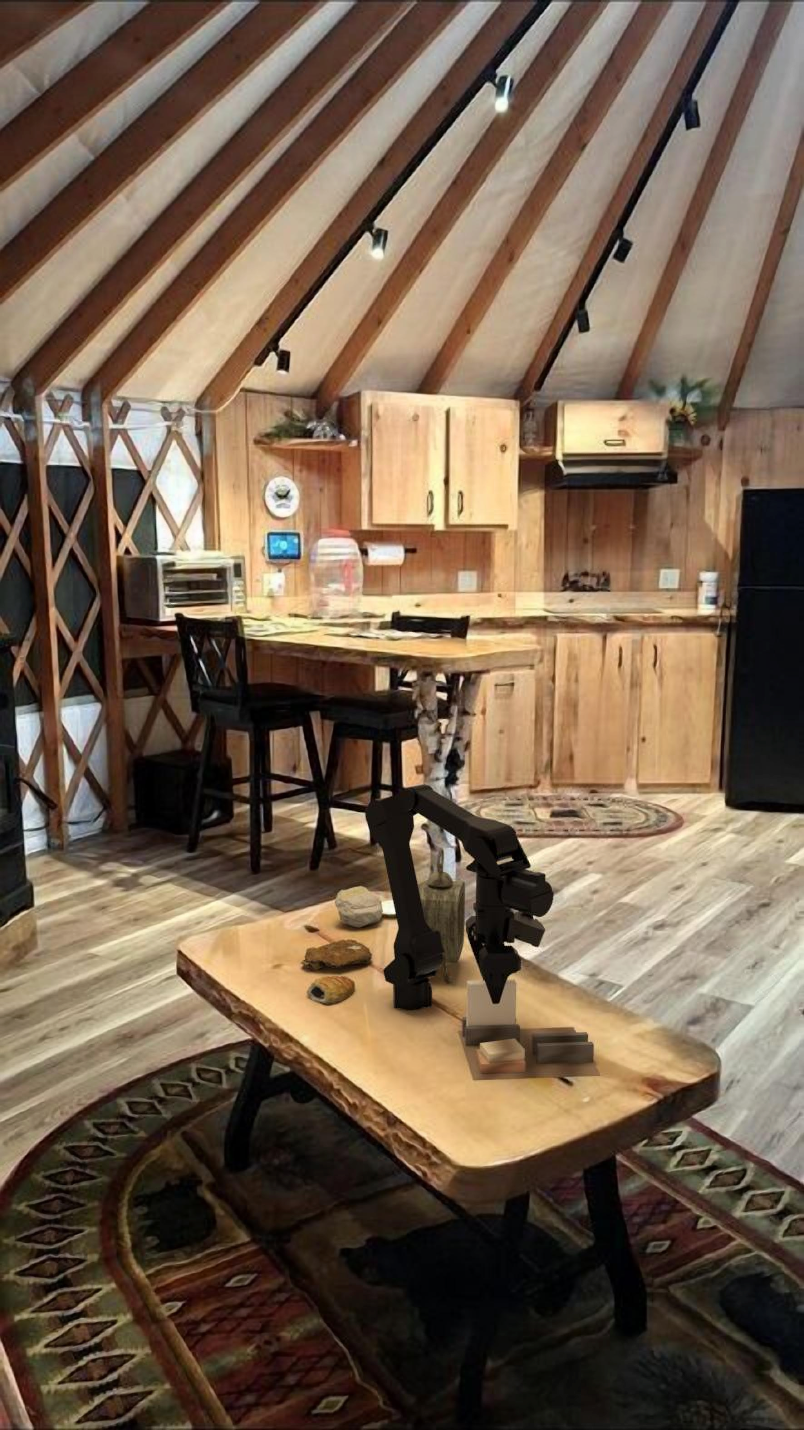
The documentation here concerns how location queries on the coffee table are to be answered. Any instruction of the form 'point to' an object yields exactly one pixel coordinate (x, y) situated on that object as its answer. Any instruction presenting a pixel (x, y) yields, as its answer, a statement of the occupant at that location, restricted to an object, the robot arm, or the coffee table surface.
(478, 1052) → the cedar offcut
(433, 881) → the tabletop clock
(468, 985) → the off-white sheet
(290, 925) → the coffee table surface
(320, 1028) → the coffee table surface
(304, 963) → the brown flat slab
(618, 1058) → the coffee table surface
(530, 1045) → the walnut rack
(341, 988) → the pastry
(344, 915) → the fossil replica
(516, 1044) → the birch offcut
